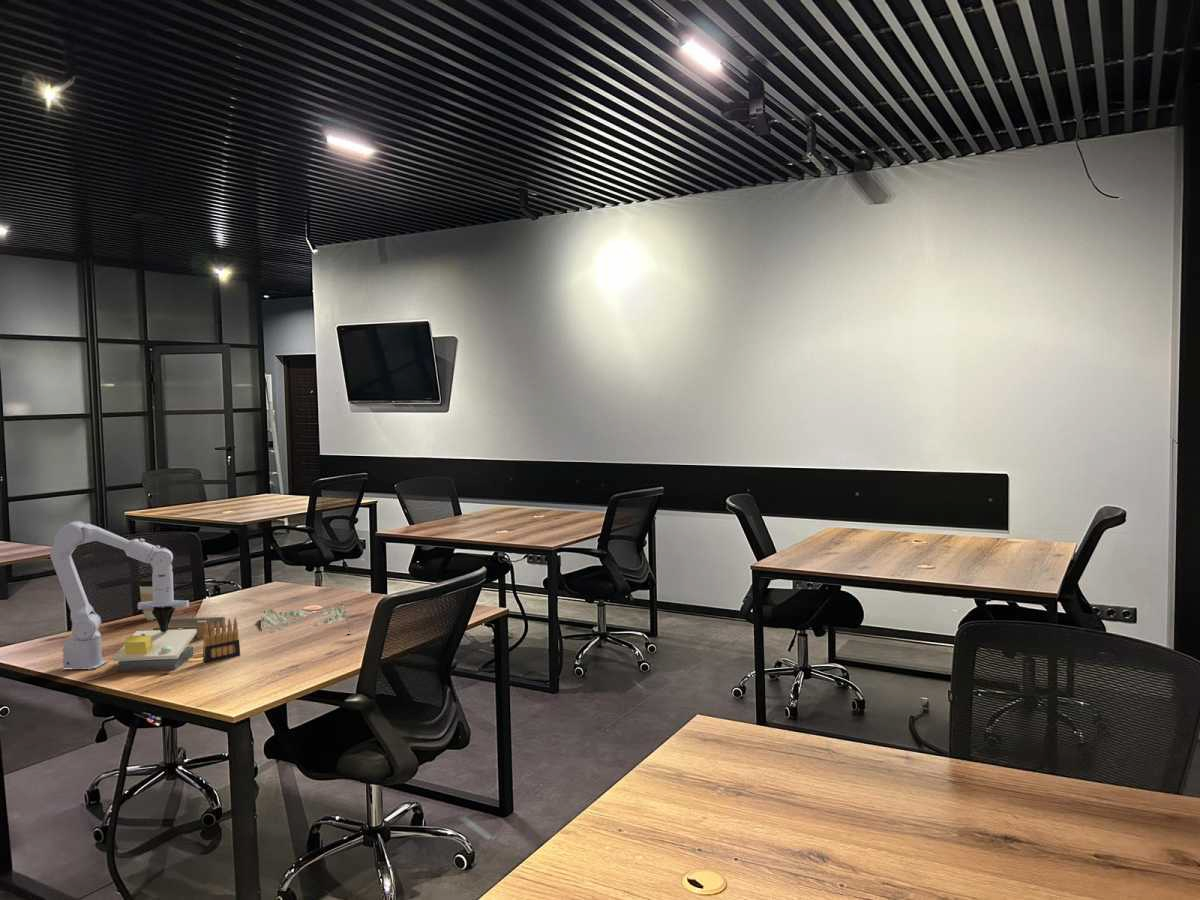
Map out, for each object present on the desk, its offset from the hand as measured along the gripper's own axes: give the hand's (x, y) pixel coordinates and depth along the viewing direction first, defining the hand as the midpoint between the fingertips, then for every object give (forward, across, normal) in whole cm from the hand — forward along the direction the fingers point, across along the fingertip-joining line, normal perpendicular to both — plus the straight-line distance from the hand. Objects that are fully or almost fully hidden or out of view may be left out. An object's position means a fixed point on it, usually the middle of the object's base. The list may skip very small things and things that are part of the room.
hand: (164, 631), depth 258 cm
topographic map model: (+10, -34, -34) cm, 49 cm away
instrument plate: (+3, 0, +6) cm, 7 cm away
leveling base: (+9, 0, +6) cm, 10 cm away
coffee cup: (+9, +26, -55) cm, 62 cm away
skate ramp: (+9, +5, -26) cm, 28 cm away
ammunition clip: (+9, -18, +3) cm, 20 cm away
